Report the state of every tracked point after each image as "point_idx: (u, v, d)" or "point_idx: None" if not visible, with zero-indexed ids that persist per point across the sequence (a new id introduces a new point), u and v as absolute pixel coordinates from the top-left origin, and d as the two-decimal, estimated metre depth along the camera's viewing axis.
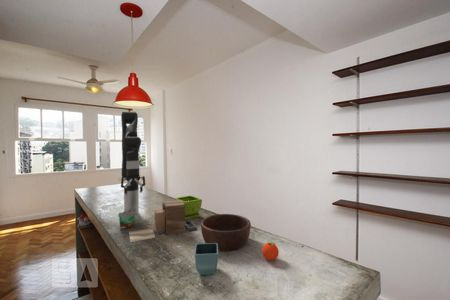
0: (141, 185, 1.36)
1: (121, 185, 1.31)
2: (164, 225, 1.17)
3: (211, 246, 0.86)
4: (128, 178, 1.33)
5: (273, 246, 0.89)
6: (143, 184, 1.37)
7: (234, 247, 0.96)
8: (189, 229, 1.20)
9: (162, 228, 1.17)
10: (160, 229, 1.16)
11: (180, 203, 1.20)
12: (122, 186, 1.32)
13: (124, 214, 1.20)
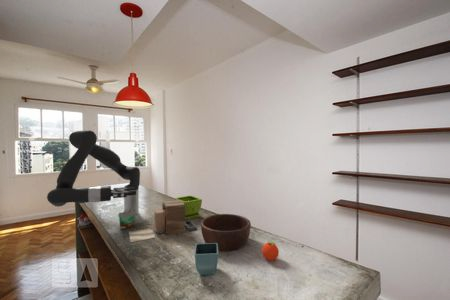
0: None
1: None
2: (164, 225, 1.17)
3: (211, 246, 0.86)
4: None
5: (273, 246, 0.89)
6: (124, 196, 1.04)
7: (234, 247, 0.96)
8: (189, 229, 1.20)
9: (162, 228, 1.17)
10: (160, 229, 1.16)
11: (180, 203, 1.20)
12: None
13: (124, 214, 1.20)
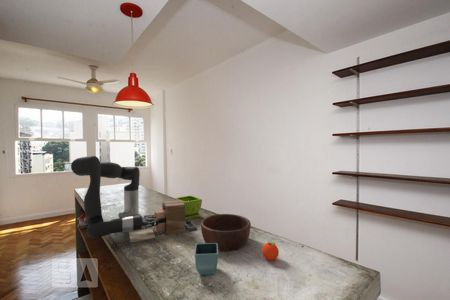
0: None
1: None
2: (164, 225, 1.17)
3: (211, 246, 0.86)
4: None
5: (273, 246, 0.89)
6: None
7: (234, 247, 0.96)
8: (189, 229, 1.20)
9: (162, 228, 1.17)
10: (160, 229, 1.16)
11: (180, 203, 1.20)
12: (153, 219, 1.21)
13: (124, 214, 1.20)
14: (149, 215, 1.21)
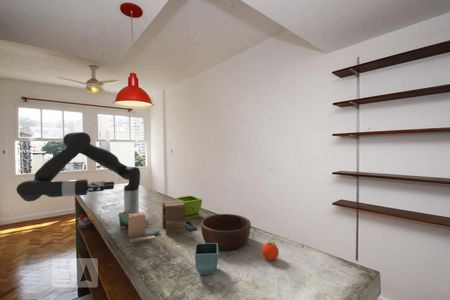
0: (102, 190, 1.01)
1: None
2: (138, 229, 1.11)
3: (211, 246, 0.86)
4: None
5: (273, 246, 0.89)
6: (101, 190, 1.00)
7: (234, 247, 0.96)
8: (189, 229, 1.20)
9: (136, 232, 1.10)
10: (133, 234, 1.10)
11: (180, 203, 1.20)
12: None
13: (124, 214, 1.20)
14: None
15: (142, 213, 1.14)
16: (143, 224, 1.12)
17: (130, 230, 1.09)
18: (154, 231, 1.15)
